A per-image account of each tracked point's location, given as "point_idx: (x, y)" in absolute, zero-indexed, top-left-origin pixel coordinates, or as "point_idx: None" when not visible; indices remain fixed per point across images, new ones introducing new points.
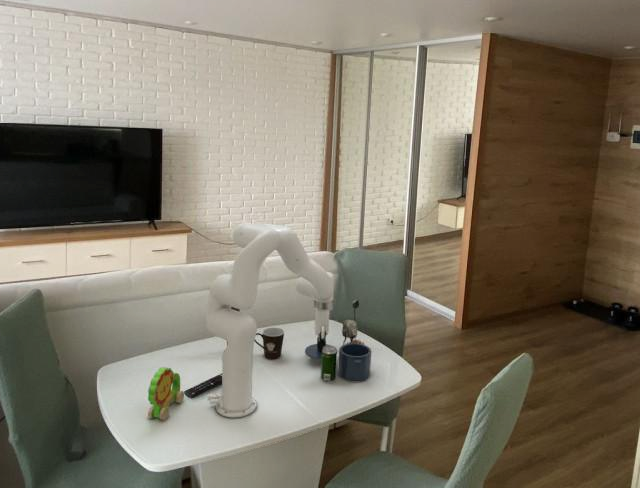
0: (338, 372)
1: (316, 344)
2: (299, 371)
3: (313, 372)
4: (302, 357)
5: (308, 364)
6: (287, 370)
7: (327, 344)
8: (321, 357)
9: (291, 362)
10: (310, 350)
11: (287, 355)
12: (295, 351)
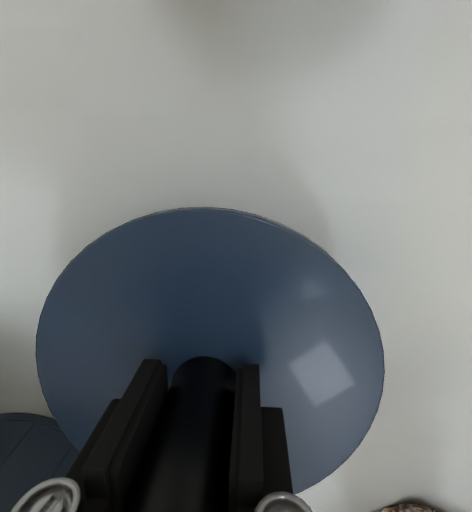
0: (8, 423)
1: (366, 352)
2: (13, 143)
3: (16, 258)
4: (281, 180)
5: None
6: (11, 20)
7: (349, 452)
8: (49, 370)
9: (179, 65)
10: (210, 275)
11: (339, 17)
12: (422, 112)
